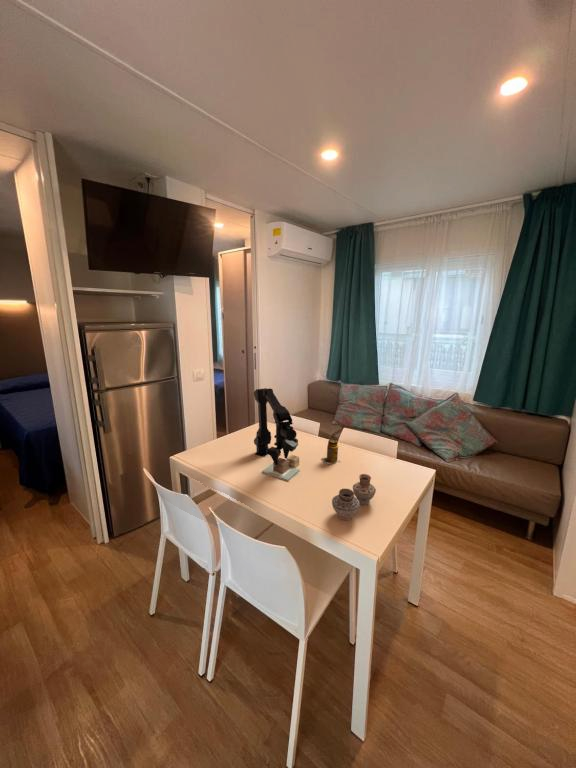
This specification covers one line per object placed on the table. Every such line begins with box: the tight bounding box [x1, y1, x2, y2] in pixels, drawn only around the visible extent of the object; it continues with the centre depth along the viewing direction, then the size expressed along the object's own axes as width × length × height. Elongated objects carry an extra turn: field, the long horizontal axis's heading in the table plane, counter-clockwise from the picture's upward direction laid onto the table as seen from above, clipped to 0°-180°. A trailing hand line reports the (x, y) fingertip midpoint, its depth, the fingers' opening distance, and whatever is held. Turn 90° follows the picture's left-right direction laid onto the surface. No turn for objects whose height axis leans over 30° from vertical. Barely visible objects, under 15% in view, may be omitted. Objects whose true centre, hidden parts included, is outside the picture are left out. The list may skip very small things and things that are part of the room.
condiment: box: [321, 438, 341, 465], centre depth 170 cm, size 7×8×12 cm
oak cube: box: [286, 454, 300, 469], centre depth 164 cm, size 5×5×5 cm
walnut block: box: [272, 457, 289, 474], centre depth 157 cm, size 6×6×5 cm
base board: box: [261, 463, 301, 482], centre depth 158 cm, size 16×12×1 cm
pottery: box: [331, 473, 377, 521], centre depth 127 cm, size 11×25×12 cm, turn 136°
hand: (281, 461), depth 156 cm, fingers open, 9 cm apart
